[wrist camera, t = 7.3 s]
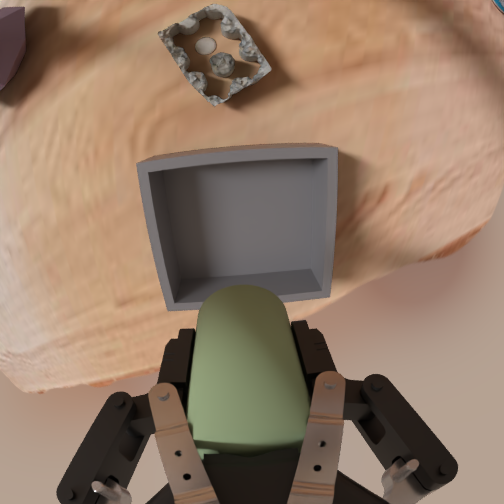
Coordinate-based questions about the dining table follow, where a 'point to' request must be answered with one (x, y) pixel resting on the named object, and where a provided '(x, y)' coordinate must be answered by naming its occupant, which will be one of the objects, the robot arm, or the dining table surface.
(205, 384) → the green capsule
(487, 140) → the dining table surface
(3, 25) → the flask
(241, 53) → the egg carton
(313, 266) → the bin
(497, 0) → the beverage bottle
